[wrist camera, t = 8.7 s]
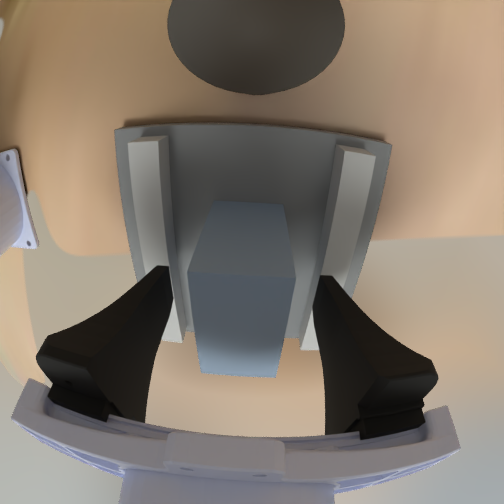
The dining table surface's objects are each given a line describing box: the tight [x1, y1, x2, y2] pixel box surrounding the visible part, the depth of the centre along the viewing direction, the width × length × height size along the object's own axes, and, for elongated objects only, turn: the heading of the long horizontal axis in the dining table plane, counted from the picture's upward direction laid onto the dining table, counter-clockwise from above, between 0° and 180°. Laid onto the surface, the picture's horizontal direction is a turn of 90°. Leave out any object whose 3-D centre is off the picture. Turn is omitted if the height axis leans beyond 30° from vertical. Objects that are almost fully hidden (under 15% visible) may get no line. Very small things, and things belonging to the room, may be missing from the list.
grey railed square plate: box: [114, 122, 392, 350], centre depth 15 cm, size 14×14×2 cm
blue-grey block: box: [187, 201, 296, 378], centre depth 13 cm, size 4×6×6 cm, turn 177°
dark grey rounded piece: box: [168, 0, 345, 95], centre depth 8 cm, size 5×5×6 cm
